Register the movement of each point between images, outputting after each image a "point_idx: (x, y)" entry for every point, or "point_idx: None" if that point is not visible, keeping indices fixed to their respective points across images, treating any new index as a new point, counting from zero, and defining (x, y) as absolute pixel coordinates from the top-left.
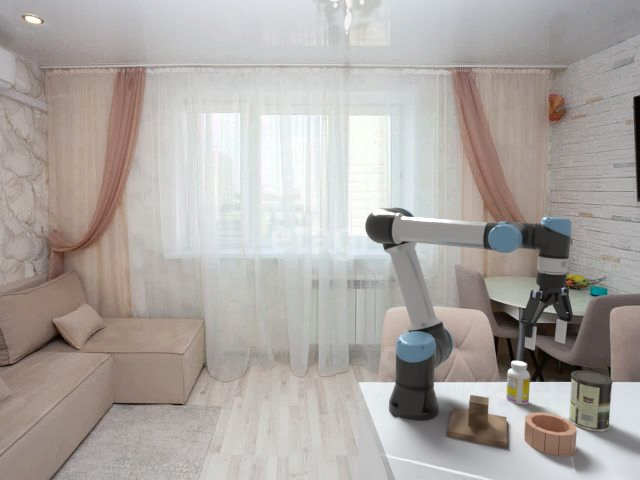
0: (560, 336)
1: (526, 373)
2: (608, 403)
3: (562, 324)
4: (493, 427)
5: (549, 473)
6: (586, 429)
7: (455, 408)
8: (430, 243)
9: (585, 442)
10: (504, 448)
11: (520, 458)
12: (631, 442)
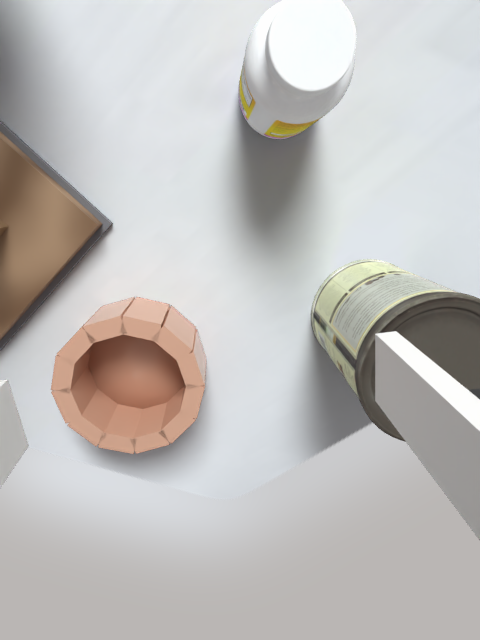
0: (396, 400)
1: (310, 106)
2: None
3: (460, 484)
4: (3, 266)
5: (40, 447)
6: (317, 339)
7: None
8: None
9: (250, 383)
10: None
11: (12, 382)
12: (365, 420)
